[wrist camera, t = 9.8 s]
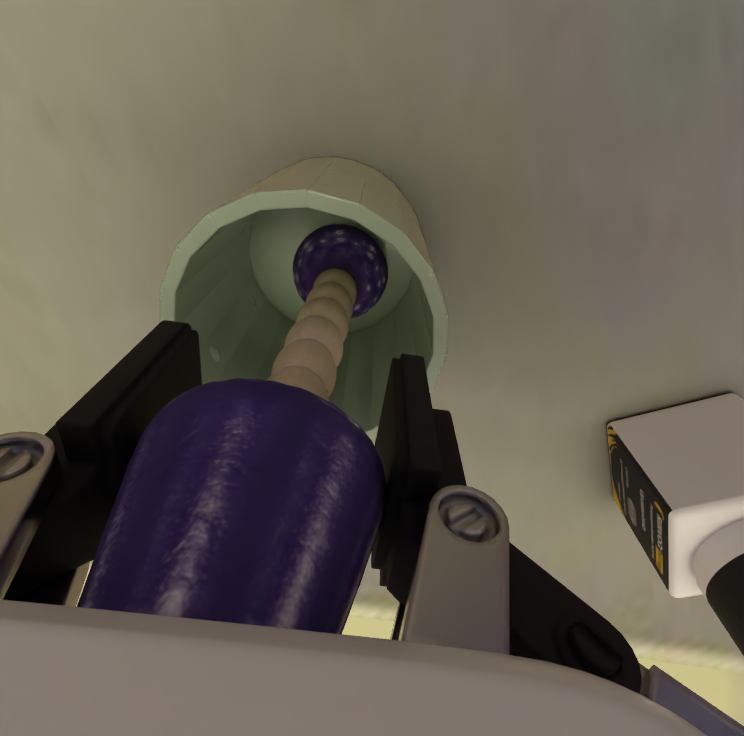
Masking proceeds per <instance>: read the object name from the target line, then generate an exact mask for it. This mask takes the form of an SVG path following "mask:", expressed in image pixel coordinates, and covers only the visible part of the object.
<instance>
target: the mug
mask: <svg viewBox="0 0 744 736" xmlns="http://www.w3.org/2000/svg"><path fill="white" fill-rule="evenodd" d="M333 224H345V225H350V226H353V227H357V228H359V229H361V230H363V231H364V232H366V233H367V234H368V235H369V236H371V237H372V238H373V239H374V240H375V241H376V242H377V244H378V245H379V247H380V249H381V250H382V252H383V253H384V256H385V258H386V262H387V266H388V280H387V284H386V288H385V290H384V292H383V294H382V296H381V298H380V300H379V301H378V302H377V304H376V305H375V306H374V307H373V308H372V309H370V310H369V311H368V312H366V313H365V314H363V315H361V316H358V317H355V318H352V319H350V321H349V330H348V334H347V337H346V339H345V341H344V342H343V354H342V358H341V361H340V363H339V365H338V366H337V368H336V369H337V374H336V382H335V386H334V389H333V391H332V393H331V395H330V396H329V397H328V398H329V402H331V403H333V404H335V405H336V406H337V407H338V408H339V409H340V410H341V411H343V412H344V413H346V414H347V415H348V417H349V418H350V419H352V420H353V421H354V422H356V423H357V424H358V425H360V426H361V428H362V429H363V430H364V432H365V433H366V434H367V435H368V437H369V438H370V439H371V440H374V439H376V436H377V431H378V426H379V421H380V416H381V411H382V406H383V401H384V396H385V391H386V386H387V381H388V376H389V371H390V366H391V361H392V358H398V359H400V356H401V354H402V353H403V354H410V355H417V356H423V357H424V361H425V367H426V373H427V379H428V385H429V392H430V393H431V392H432V390H433V389H434V387H435V384H436V382H437V379H438V377H439V374H440V372H441V369H442V367H443V364H444V362H445V359H446V355H447V342H448V311H447V308H446V305H445V302H444V299H443V296H442V293H441V290H440V287H439V284H438V281H437V278H436V275H435V272H434V269H433V266H432V263H431V260H430V257H429V254H428V251H427V247H426V244H425V241H424V238H423V235H422V232H421V229H420V226H419V223H418V220H417V217H416V214H415V211H414V209H413V208H412V207H411V205H410V204H409V202H408V200H407V199H406V197H405V196H404V195H403V193H402V192H401V191H400V190H399V189H398V188H397V186H395V184H393V183H392V182H391V181H390V180H389V179H388V178H387V177H385V176H384V175H383V174H381V173H380V172H378V171H377V170H375V169H373V168H371V167H369V166H367V165H365V164H362V163H360V162H357V161H354V160H350V159H345V158H338V157H318V158H313V159H306V160H302V161H300V162H298V163H295V164H293V165H291V166H289V167H287V168H285V169H283V170H280V171H278V172H276V173H275V174H273V175H271V176H270V177H268V178H266V179H265V180H263V181H261V182H259V183H258V184H256V185H254V186H253V187H251V188H249V189H248V190H246V191H244V192H243V193H241V194H239V195H238V196H236V197H234V198H233V199H231V200H229V201H228V202H226V203H224V204H223V205H221V206H219V207H218V208H216V209H214V210H212V211H211V212H210V213H208V214H207V215H206V216H205V217H204V218H203V219H202V220H201V221H200V222H199V223H198V224H197V225H196V226H195V227H194V228H193V229H192V230H191V231H190V232H189V233H188V234H187V235H186V236H185V237H184V238H183V239H182V240H181V241H180V242H179V243H178V245H177V247H176V248H175V250H174V252H173V255H172V257H171V260H170V263H169V265H168V268H167V270H166V273H165V275H164V278H163V280H162V283H161V287H160V322H161V321H163V320H169V321H176V322H183V323H189V324H190V326H191V328H192V330H196V331H197V332H198V335H199V346H200V361H201V375H202V385H203V384H205V383H208V382H215V381H225V380H230V379H235V378H241V379H261V380H267V379H268V378H269V377H270V376H271V372H272V367H273V363H274V361H275V359H276V357H277V355H278V354H279V352H280V351H281V350H282V349H283V348H284V345H285V340H286V336H287V334H288V332H289V330H290V329H291V328H292V326H293V325H294V324H295V322H296V317H297V315H298V313H299V311H300V309H301V308H302V306H303V305H304V304H305V302H304V301H303V300H302V298H301V297H300V295H299V293H298V291H297V289H296V286H295V283H294V278H293V260H294V257H295V254H296V251H297V249H298V247H299V246H300V244H301V243H302V241H303V240H304V239H305V238H306V237H307V236H308V235H309V234H310V233H312V232H313V231H315V230H316V229H318V228H320V227H323V226H326V225H333Z"/></svg>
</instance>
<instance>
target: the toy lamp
mask: <svg viewBox="0 0 744 736" xmlns="http://www.w3.org/2000/svg"><path fill="white" fill-rule="evenodd" d="M293 278H294V283H295V286H296V289H297V291H298V293H299V295H300V297H301V298H302V300H303V301H304V302H305V304H304V305H303V306H302V308H301V309H300V311H299V313H298V315H297V317H296V322H295V324H294V325H293V326H292V328H291V329H290V330H289V332H288V334H287V336H286V340H285V345H284V348H283V349H282V350H281V351H280V352H279V354H278V355H277V357H276V359H275V361H274V363H273V367H272V372H271V376H270V377H269V378H268V379H267V380H261V379H241V378H235V379H230V380H225V381H215V382H208V383H205V384H203V385H199V386H196V387H194V388H192V389H190V390H188V391H187V392H184V393H182V394H181V395H179V396H177V397H176V398H174V399H173V400H172V401H171V402H169V403H168V404H167V405H165V406H164V407H163V408H162V409H161V410H160V411H159V412H158V413H157V414H156V415H155V417H154V418H153V419H152V420H151V421H150V422H149V423H148V425H147V427H146V428H145V430H144V431H143V433H142V435H141V437H140V439H139V441H138V443H137V445H136V448H135V450H134V453H133V455H132V457H131V459H130V461H129V463H128V466H127V469H126V472H125V475H124V478H123V481H122V484H121V486H120V489H119V492H118V494H117V497H116V500H115V502H114V505H113V508H112V510H111V513H110V516H109V518H108V521H107V524H106V526H105V529H104V532H103V534H102V537H101V540H100V543H99V546H98V549H97V552H96V555H95V558H94V561H93V563H92V566H91V569H90V572H89V574H88V577H87V580H86V583H85V586H84V589H83V592H82V594H81V597H80V599H79V602H78V605H77V607H82V608H92V609H102V610H112V611H122V612H132V613H142V614H151V615H161V616H171V617H181V618H190V619H200V620H210V621H220V622H229V623H239V624H249V625H258V626H268V627H277V628H286V629H296V630H305V631H314V632H323V633H333V634H342V631H343V629H344V626H345V623H346V621H347V618H348V615H349V613H350V610H351V607H352V604H353V601H354V598H355V596H356V593H357V590H358V588H359V586H360V583H361V580H362V577H363V574H364V571H365V568H366V565H367V562H368V559H369V556H370V553H371V551H372V548H373V545H374V542H375V539H376V536H377V534H378V531H379V528H380V525H381V521H382V517H383V513H384V508H385V501H386V480H385V473H384V469H383V465H382V461H381V459H380V457H379V454H378V452H377V450H376V448H375V446H374V444H373V443H372V441H371V439H370V438H369V437H368V435H367V434H366V433H365V432H364V430H363V429H362V428H361V426H360V425H358V424H357V423H356V422H354V421H353V420H352V419H350V418H349V417H348V415H347V414H346V413H344V412H343V411H341V410H340V409H339V408H338V407H337V406H336V405H335V404H333V403H331V402H329V398H328V397H329V396H330V395H331V393H332V391H333V389H334V386H335V382H336V374H337V369H336V368H337V366H338V365H339V363H340V361H341V358H342V354H343V342H344V341H345V339H346V337H347V334H348V330H349V321H350V319H352V318H355V317H358V316H361V315H363V314H365V313H366V312H368V311H369V310H370V309H372V308H373V307H374V306H375V305H376V304H377V302H378V301H379V300H380V298H381V296H382V294H383V292H384V290H385V288H386V284H387V280H388V266H387V262H386V258H385V256H384V253H383V252H382V250H381V249H380V247H379V245H378V244H377V242H376V241H375V240H374V239H373V238H372V237H371V236H369V235H368V234H367V233H366V232H364V231H363V230H361V229H359V228H357V227H353V226H350V225H345V224H333V225H326V226H323V227H320V228H318V229H316V230H315V231H313V232H312V233H310V234H309V235H308V236H307V237H306V238H305V239H304V240H303V241H302V243H301V244H300V246H299V247H298V249H297V251H296V254H295V257H294V260H293Z"/></svg>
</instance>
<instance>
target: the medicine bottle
mask: <svg viewBox="0 0 744 736" xmlns="http://www.w3.org/2000/svg"><path fill="white" fill-rule="evenodd" d="M607 433H608V443H609V453H610V464H611V474H612V484H613V494H614V500H615V502H616V504H617V505H618V507H619V509H620V510H621V512H622V514H623V515H624V517H625V519H626V520H627V522H628V524H629V526H630V527H631V529H632V531H633V532H634V534H635V536H636V537H637V539H638V541H639V542H640V544H641V546H642V547H643V549H644V551H645V552H646V554H647V556H648V557H649V559H650V561H651V562H652V564H653V566H654V568H655V569H656V571H657V573H658V574H659V576H660V578H661V579H662V581H663V583H664V584H665V586H666V588H667V589H668V591H669V593H670V594H671V595H672V596H673V597H676V598H683V597H689V596H695V595H701V594H703V595H704V597H705V598H706V600H707V601H708V603H709V604H710V606H711V607H712V609H713V610H714V612H715V613H716V615H717V616H718V618H719V619H720V621H721V622H722V624H723V625H724V627H725V628H726V630H727V631H728V633H729V634H730V636H731V637H732V639H733V640H734V642H735V643H736V645H737V646H738V648H739V650H740V651H741V653H742V654H743V656H744V400H743V399H742V398H741V397H739V396H738V395H736V394H734V393H729V394H724V395H720V396H716V397H712V398H708V399H704V400H700V401H696V402H692V403H687V404H683V405H679V406H675V407H671V408H667V409H663V410H659V411H654V412H650V413H646V414H642V415H638V416H634V417H630V418H626V419H621V420H617V421H613V422H610V423H609V424H608V425H607Z"/></svg>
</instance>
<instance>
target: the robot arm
mask: <svg viewBox="0 0 744 736" xmlns="http://www.w3.org/2000/svg"><path fill="white" fill-rule="evenodd" d="M199 385H202V375H201V361H200V346H199V335H198V332H197V331H196V330H192V328H191V326H190V324H189V323H183V322H176V321H169V320H163V321H161V322H160V323H159V324H158V325H157V326H156V327H155V328H154V329H153V330H152V331H151V332H150V333H149V334H148V335H147V336H146V337H145V338H144V339H143V340H142V341H141V342H140V343H138V344H137V345H136V346H135V347H134V348H133V349H132V350H131V351H130V352H129V353H128V354H127V355H126V356H125V357H124V358H123V359H122V360H121V361H120V362H119V363H118V364H117V365H116V366H114V367H113V368H112V369H111V370H110V371H109V372H108V373H107V374H106V375H105V376H104V377H103V378H102V379H101V380H100V381H99V382H98V383H97V384H96V385H95V386H94V387H93V388H92V389H90V390H89V391H88V392H87V393H86V394H85V395H84V396H83V397H82V398H81V399H80V400H79V401H78V402H77V403H76V404H75V405H74V406H73V407H72V408H71V409H70V410H69V411H68V412H67V413H65V414H64V415H63V416H62V417H61V418H60V419H59V420H58V421H57V422H56V424H55V425H54V426H53V427H52V428H51V429H50V430H49V431H48V432H47V433H46V434H45V435H42V434H39V433H36V432H13V433H5V434H2V435H0V736H744V726H742V725H741V724H739V723H738V722H737V721H735V720H734V719H732V718H731V717H729V716H728V715H726V714H725V713H723V712H722V711H720V710H719V709H718V708H716V707H715V706H713V705H712V704H710V703H709V702H707V701H706V700H705V699H703V698H702V697H700V696H699V695H697V694H696V693H694V692H693V691H691V690H690V689H688V688H687V687H686V686H684V685H682V684H681V683H680V682H678V681H677V680H675V679H674V678H672V677H671V676H669V675H668V674H667V673H665V672H664V671H662V670H661V669H659V668H658V667H656V666H655V665H653V666H652V667H651V668H650V669H649V670H648V669H647V668H645V667H644V666H643V665H641V664H640V663H639V662H638V660H637V658H636V656H635V654H634V652H633V649H632V648H631V646H630V645H629V644H628V642H627V641H626V639H625V638H624V637H623V635H622V634H621V633H620V632H619V631H618V630H617V629H616V628H615V627H614V626H613V625H612V624H611V623H610V622H608V621H607V620H606V619H605V618H603V617H602V616H601V615H600V614H598V613H597V612H596V611H595V610H593V609H592V608H591V607H590V606H588V605H587V604H586V603H585V602H583V601H582V600H581V599H580V598H578V597H577V596H576V595H575V594H573V593H572V592H571V591H570V590H568V589H567V588H566V587H565V586H563V585H562V584H561V583H560V582H558V581H557V580H556V579H555V578H553V577H552V576H551V575H550V574H548V573H547V572H546V571H545V570H543V569H542V568H541V567H540V566H538V565H537V564H536V563H535V562H533V561H532V560H531V559H530V558H528V557H527V556H526V555H525V554H523V553H522V552H521V551H520V550H518V549H517V548H516V547H515V546H513V545H512V544H511V543H510V542H509V524H508V519H507V517H506V515H505V513H504V511H503V509H502V508H501V507H500V506H499V504H498V503H497V502H496V501H495V500H494V499H493V498H491V497H490V496H488V495H487V494H485V493H484V492H482V491H480V490H477V489H475V488H473V487H468V486H467V485H466V480H465V476H464V471H463V467H462V462H461V458H460V453H459V449H458V444H457V440H456V435H455V431H454V426H453V422H452V417H451V414H450V412H449V411H446V410H438V409H432V404H431V398H430V392H429V385H428V379H427V373H426V367H425V361H424V357H423V356H417V355H410V354H403V353H402V354H401V356H400V359H398V358H392V361H391V366H390V371H389V376H388V381H387V386H386V391H385V396H384V401H383V406H382V411H381V416H380V421H379V426H378V431H377V436H376V442H375V448H376V450H377V452H378V454H379V457H380V459H381V461H382V465H383V469H384V473H385V480H386V501H385V508H384V513H383V517H382V521H381V525H380V528H379V531H378V534H377V536H376V539H375V542H374V545H373V548H372V554H371V567H372V568H373V569H380V586H387V589H388V591H389V592H390V593H391V594H392V595H393V596H394V597H395V598H396V599H397V600H398V601H399V604H398V608H397V612H396V617H395V621H394V625H393V630H392V634H391V638H390V640H389V639H379V638H370V637H361V636H351V635H342V634H333V633H323V632H314V631H305V630H296V629H286V628H277V627H268V626H258V625H249V624H239V623H229V622H220V621H210V620H200V619H190V618H181V617H171V616H161V615H151V614H142V613H132V612H122V611H112V610H102V609H92V608H82V607H76V605H77V601H78V599H79V596H80V593H81V590H82V587H83V584H84V581H85V578H86V575H87V572H88V569H89V562H90V561H92V560H94V558H95V555H96V552H97V549H98V546H99V543H100V540H101V537H102V534H103V532H104V529H105V526H106V524H107V521H108V518H109V516H110V513H111V510H112V508H113V505H114V502H115V500H116V497H117V494H118V492H119V489H120V486H121V484H122V481H123V478H124V475H125V472H126V469H127V466H128V463H129V461H130V459H131V457H132V455H133V453H134V450H135V448H136V445H137V443H138V441H139V439H140V437H141V435H142V433H143V431H144V430H145V428H146V427H147V425H148V423H149V422H150V421H151V420H152V419H153V418H154V417H155V415H156V414H157V413H158V412H159V411H160V410H161V409H162V408H163V407H164V406H165V405H167V404H168V403H169V402H171V401H172V400H173V399H174V398H176V397H177V396H179V395H181V394H182V393H184V392H187V391H188V390H190V389H192V388H194V387H196V386H199Z"/></svg>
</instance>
